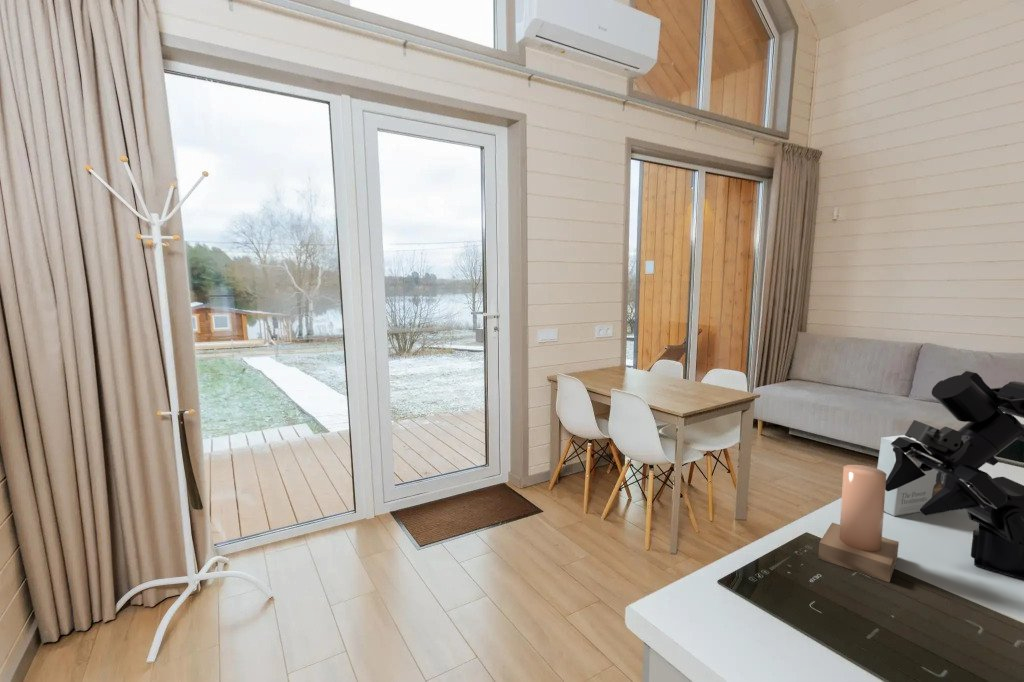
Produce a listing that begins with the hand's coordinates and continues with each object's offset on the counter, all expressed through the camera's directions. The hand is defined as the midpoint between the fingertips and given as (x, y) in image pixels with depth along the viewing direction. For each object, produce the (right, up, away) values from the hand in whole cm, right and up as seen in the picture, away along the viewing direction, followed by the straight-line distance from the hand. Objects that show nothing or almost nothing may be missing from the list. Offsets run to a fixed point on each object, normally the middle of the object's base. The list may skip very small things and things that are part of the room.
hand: (902, 500), depth 83 cm
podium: (-6, -11, +2) cm, 13 cm away
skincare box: (+22, -9, +22) cm, 32 cm away
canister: (-6, -8, +2) cm, 10 cm away
